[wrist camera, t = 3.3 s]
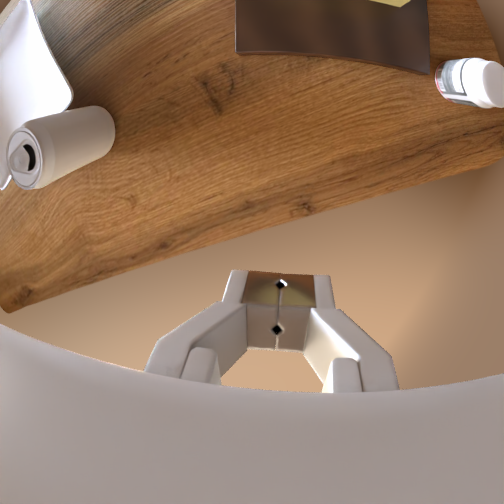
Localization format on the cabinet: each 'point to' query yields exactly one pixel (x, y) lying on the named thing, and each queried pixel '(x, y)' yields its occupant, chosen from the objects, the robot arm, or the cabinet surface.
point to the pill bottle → (471, 82)
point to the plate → (27, 77)
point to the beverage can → (58, 145)
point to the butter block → (393, 2)
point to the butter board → (336, 31)
